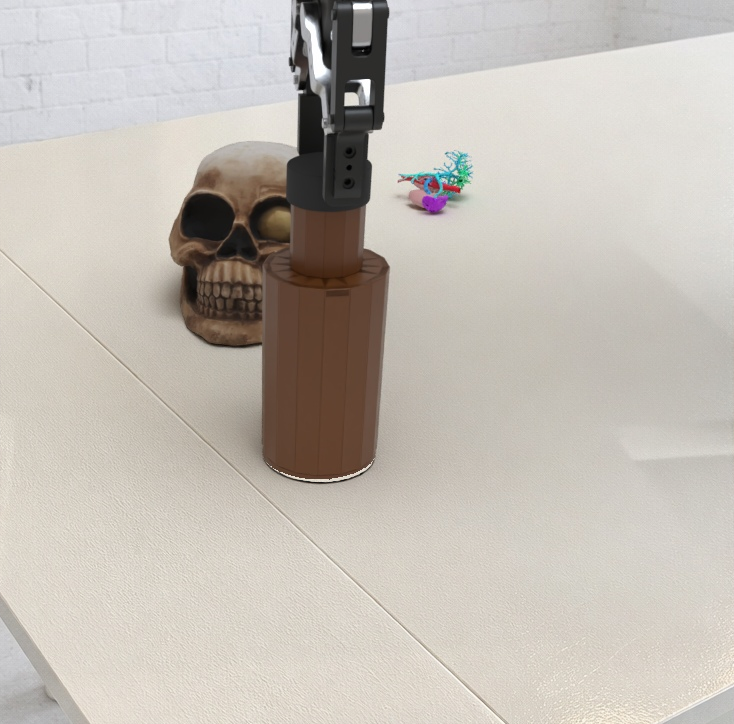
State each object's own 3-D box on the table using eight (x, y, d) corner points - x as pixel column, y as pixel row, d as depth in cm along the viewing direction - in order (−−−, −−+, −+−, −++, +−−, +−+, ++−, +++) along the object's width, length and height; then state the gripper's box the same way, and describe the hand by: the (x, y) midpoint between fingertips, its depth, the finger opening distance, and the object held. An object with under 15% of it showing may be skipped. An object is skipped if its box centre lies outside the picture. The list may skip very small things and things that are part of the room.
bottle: (362, 422, 77) (378, 175, 68) (386, 479, 71) (407, 217, 62) (255, 429, 77) (256, 181, 67) (270, 487, 71) (273, 223, 61)
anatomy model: (382, 161, 112) (446, 163, 108) (416, 143, 117) (478, 143, 114) (384, 213, 114) (447, 217, 111) (418, 192, 120) (478, 195, 116)
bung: (358, 216, 68) (362, 149, 66) (376, 245, 64) (380, 174, 62) (279, 220, 67) (280, 153, 65) (292, 249, 63) (293, 178, 61)
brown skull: (215, 352, 86) (209, 173, 80) (133, 296, 100) (123, 139, 94) (389, 321, 92) (396, 151, 86) (289, 272, 106) (289, 123, 100)
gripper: (456, -143, 49) (425, 218, 58) (383, -162, 61) (367, 141, 70) (286, -138, 49) (282, 226, 58) (246, -158, 60) (247, 147, 70)
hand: (328, 179), depth 64 cm, fingers open, 8 cm apart
